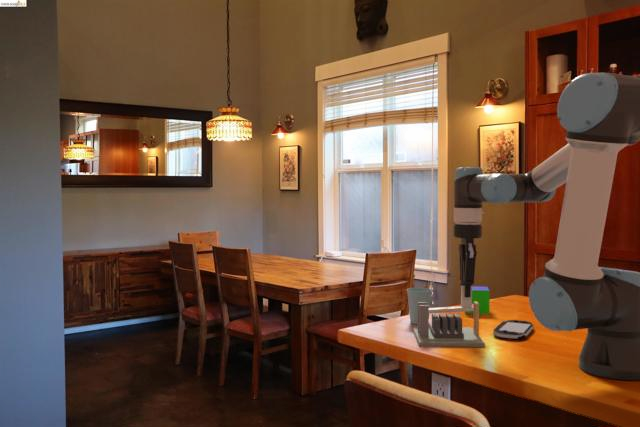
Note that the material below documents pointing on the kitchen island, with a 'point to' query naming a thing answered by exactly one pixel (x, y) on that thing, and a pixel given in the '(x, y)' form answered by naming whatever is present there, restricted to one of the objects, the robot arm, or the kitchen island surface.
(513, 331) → the gaming console
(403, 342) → the kitchen island surface
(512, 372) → the kitchen island surface
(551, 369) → the kitchen island surface
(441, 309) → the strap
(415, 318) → the cup
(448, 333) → the grey slotted rack
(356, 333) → the kitchen island surface
